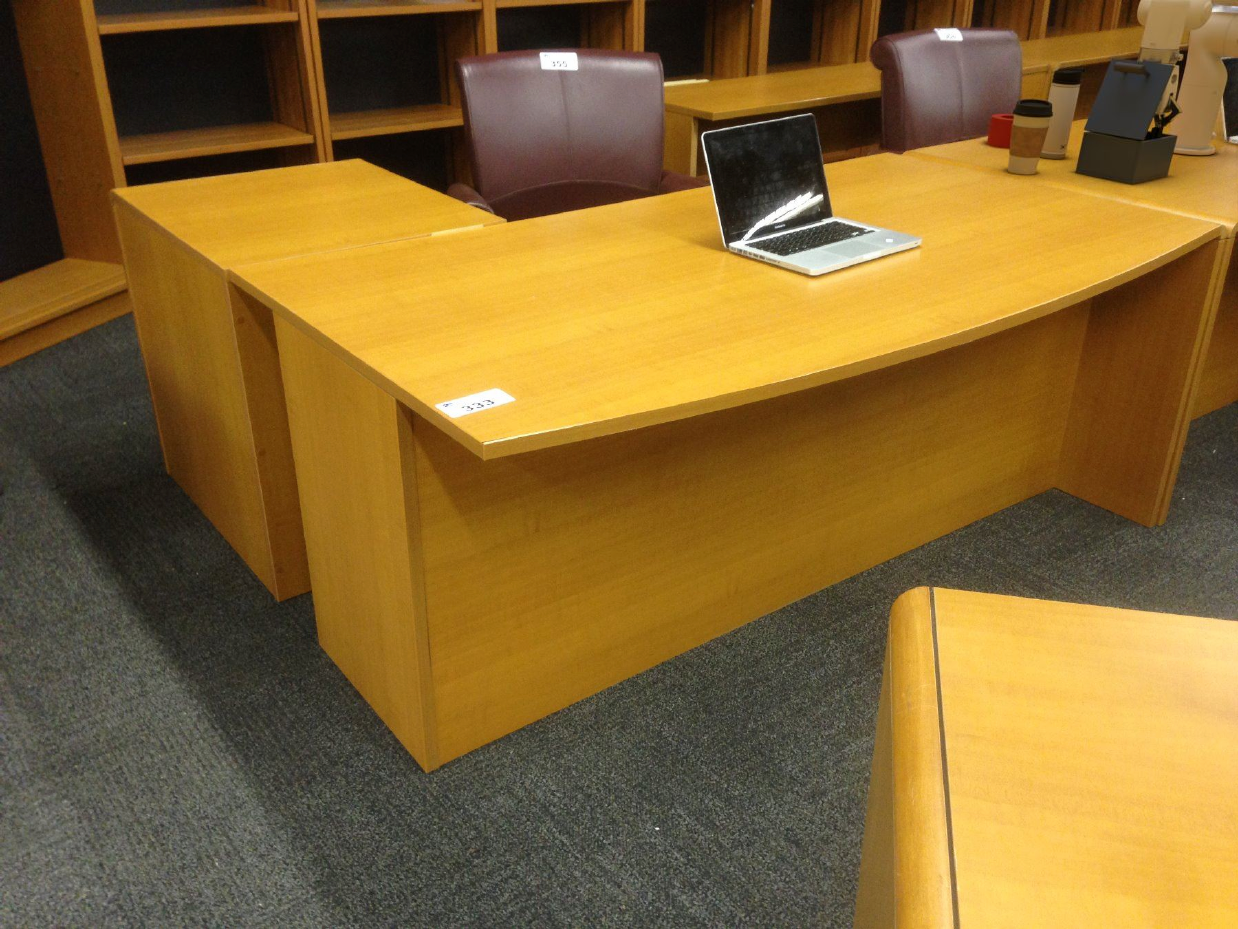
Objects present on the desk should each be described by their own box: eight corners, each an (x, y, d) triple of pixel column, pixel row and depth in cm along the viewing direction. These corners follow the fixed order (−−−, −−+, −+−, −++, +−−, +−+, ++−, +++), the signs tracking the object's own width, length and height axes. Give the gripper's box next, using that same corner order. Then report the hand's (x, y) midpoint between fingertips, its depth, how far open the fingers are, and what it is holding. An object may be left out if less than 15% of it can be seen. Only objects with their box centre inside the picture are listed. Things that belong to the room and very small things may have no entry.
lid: (1113, 59, 227) (1102, 50, 223) (1174, 66, 218) (1164, 58, 214) (1085, 130, 231) (1073, 123, 227) (1143, 140, 222) (1132, 133, 218)
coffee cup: (1041, 169, 237) (1055, 100, 230) (1041, 177, 230) (1055, 105, 223) (1002, 166, 240) (1014, 97, 233) (1001, 173, 233) (1014, 103, 226)
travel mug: (1068, 160, 247) (1087, 70, 238) (1039, 158, 248) (1057, 68, 239) (1064, 154, 253) (1082, 66, 243) (1035, 153, 254) (1052, 65, 244)
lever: (982, 145, 261) (987, 117, 258) (991, 139, 268) (996, 112, 265) (1058, 154, 253) (1064, 125, 250) (1065, 147, 260) (1071, 120, 257)
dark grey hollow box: (1110, 165, 243) (1119, 125, 239) (1167, 176, 233) (1177, 135, 229) (1075, 172, 235) (1083, 132, 231) (1132, 184, 226) (1142, 142, 221)
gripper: (1206, 60, 221) (1183, 147, 229) (1128, 51, 233) (1109, 134, 241) (1188, 62, 217) (1165, 151, 225) (1110, 53, 229) (1091, 138, 237)
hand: (1136, 141), depth 233 cm, fingers open, 6 cm apart
